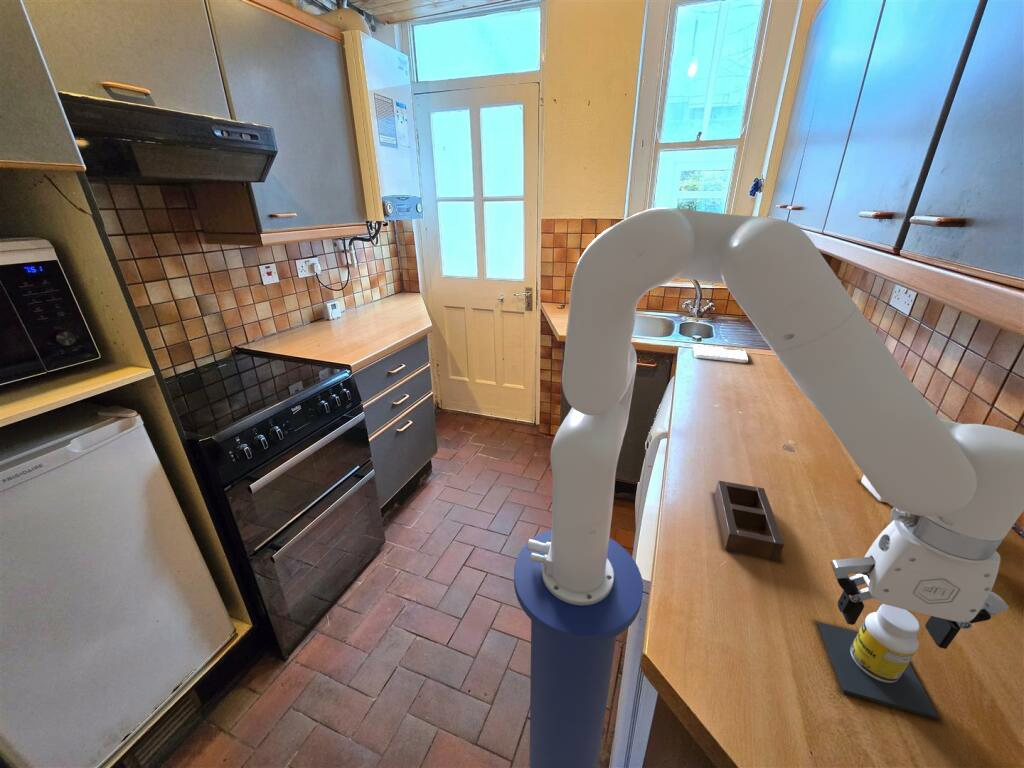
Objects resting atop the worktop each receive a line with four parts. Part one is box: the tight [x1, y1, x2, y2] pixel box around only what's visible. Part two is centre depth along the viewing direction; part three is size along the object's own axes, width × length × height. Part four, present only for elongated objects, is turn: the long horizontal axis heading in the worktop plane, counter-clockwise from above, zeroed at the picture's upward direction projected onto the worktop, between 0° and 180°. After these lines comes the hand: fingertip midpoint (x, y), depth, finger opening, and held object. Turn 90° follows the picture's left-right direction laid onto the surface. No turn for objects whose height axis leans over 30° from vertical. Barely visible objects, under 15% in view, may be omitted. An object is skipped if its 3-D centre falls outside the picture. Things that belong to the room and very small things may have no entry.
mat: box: [817, 622, 939, 720], centre depth 57 cm, size 10×10×1 cm
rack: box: [714, 480, 785, 562], centre depth 81 cm, size 9×16×4 cm, turn 162°
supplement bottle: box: [850, 603, 921, 683], centre depth 55 cm, size 5×5×10 cm
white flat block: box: [693, 344, 749, 364], centre depth 170 cm, size 13×20×2 cm, turn 69°
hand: (888, 626), depth 53 cm, fingers open, 9 cm apart
